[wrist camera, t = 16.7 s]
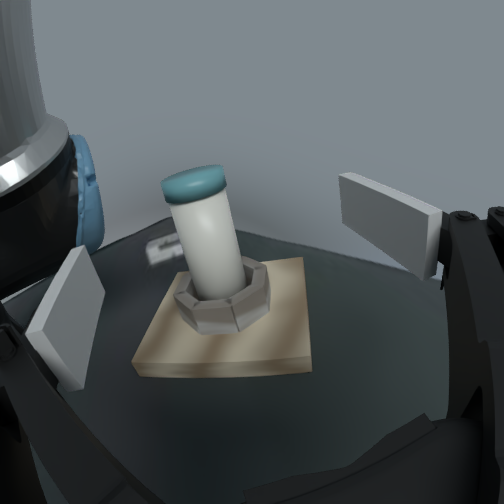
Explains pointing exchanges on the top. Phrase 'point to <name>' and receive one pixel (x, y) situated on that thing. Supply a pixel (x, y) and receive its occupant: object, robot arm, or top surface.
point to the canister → (206, 231)
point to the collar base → (231, 327)
